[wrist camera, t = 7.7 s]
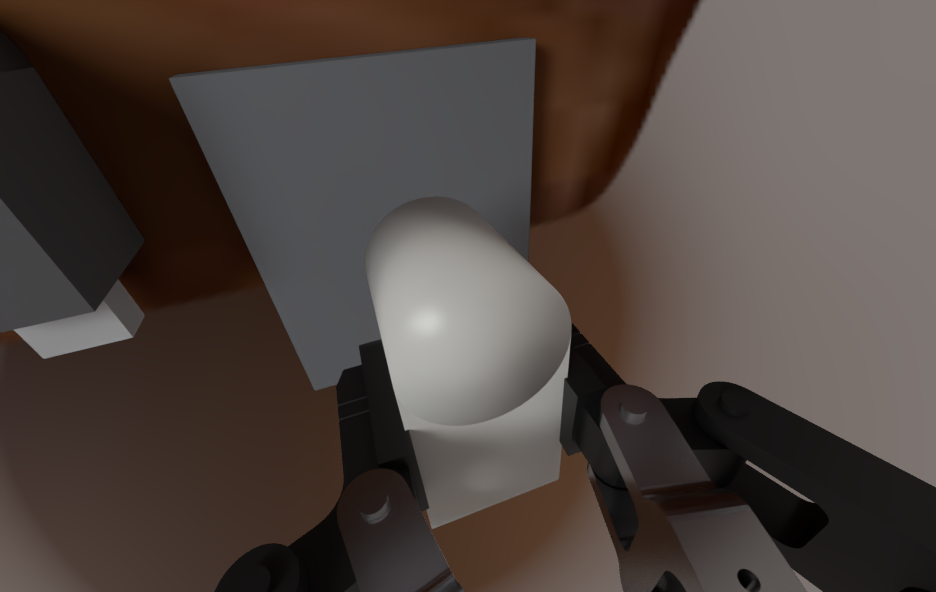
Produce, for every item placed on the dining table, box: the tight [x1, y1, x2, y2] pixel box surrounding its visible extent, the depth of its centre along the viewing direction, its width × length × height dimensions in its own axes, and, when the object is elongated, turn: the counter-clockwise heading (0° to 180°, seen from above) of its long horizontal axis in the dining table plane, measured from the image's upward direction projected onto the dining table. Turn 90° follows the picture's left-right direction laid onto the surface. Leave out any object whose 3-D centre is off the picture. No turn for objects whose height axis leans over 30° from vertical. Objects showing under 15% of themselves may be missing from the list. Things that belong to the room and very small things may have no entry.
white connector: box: [365, 196, 572, 529], centre depth 10 cm, size 9×4×4 cm, turn 4°
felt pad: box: [169, 38, 536, 391], centre depth 16 cm, size 13×11×1 cm
